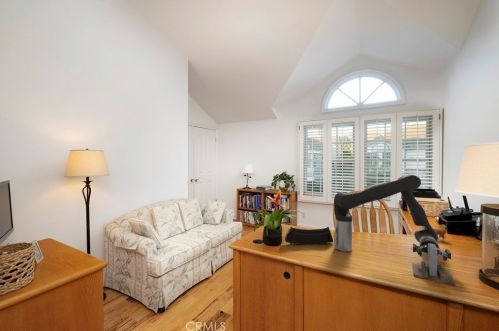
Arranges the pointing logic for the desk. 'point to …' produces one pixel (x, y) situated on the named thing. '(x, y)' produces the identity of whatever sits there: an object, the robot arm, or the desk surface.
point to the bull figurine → (437, 232)
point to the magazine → (308, 236)
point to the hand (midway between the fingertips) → (432, 256)
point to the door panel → (432, 259)
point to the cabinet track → (442, 276)
